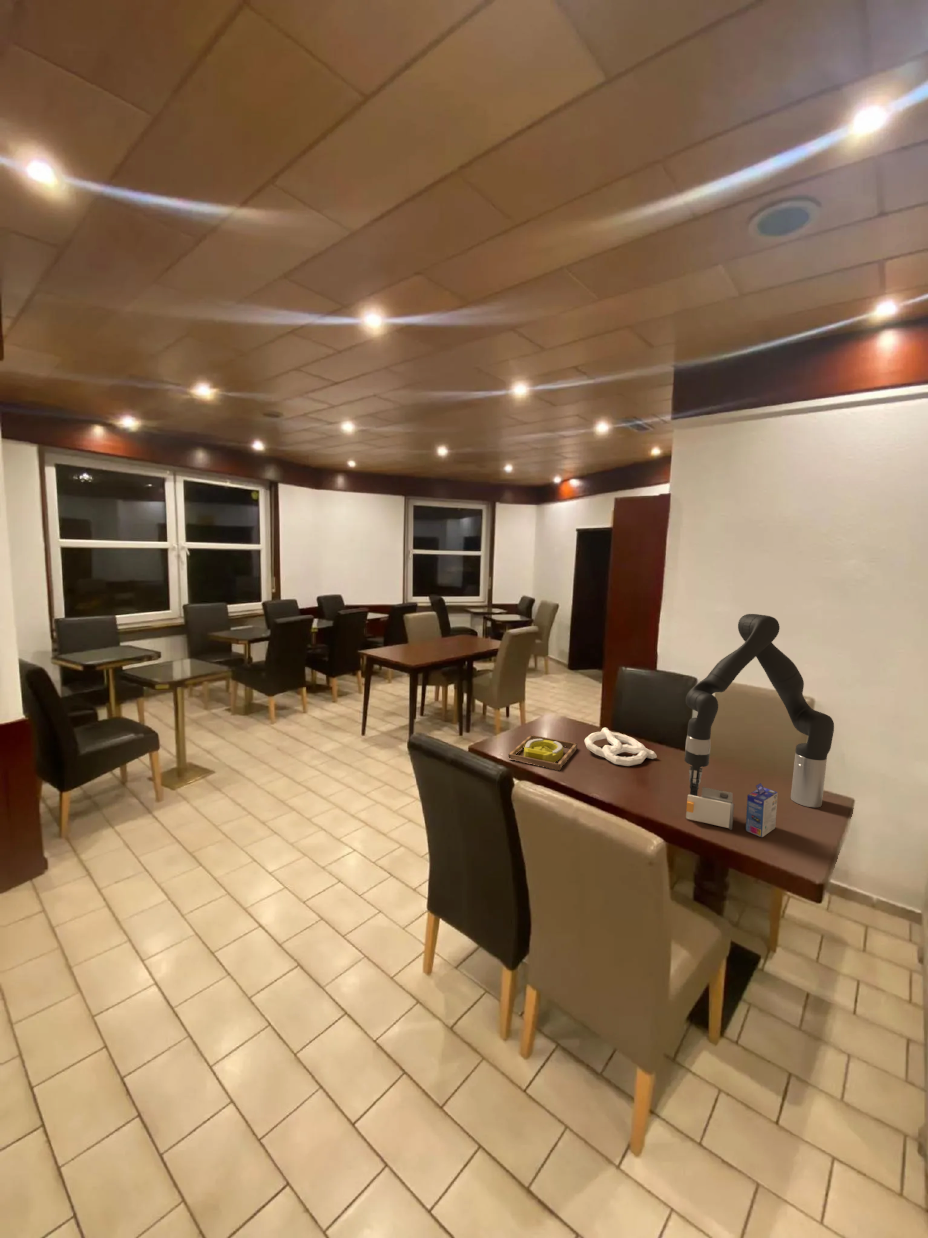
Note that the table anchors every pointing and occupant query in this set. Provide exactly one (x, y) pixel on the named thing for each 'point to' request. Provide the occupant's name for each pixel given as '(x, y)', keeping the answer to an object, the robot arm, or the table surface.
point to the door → (710, 811)
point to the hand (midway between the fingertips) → (693, 798)
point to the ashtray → (543, 750)
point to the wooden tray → (540, 762)
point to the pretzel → (618, 748)
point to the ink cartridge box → (761, 811)
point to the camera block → (717, 795)
